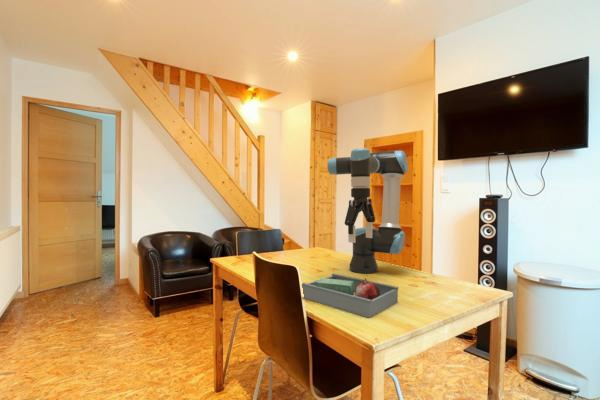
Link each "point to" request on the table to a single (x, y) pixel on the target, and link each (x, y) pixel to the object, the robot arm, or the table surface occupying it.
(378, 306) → the tray
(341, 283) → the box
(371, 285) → the fruit
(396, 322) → the table surface
